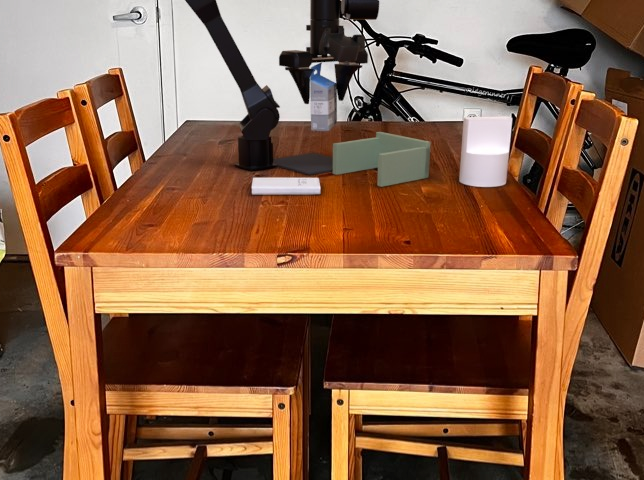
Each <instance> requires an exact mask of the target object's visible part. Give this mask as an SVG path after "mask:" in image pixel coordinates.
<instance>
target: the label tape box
mask: <svg viewBox="0 0 644 480" xmlns="http://www.w3.org/2000/svg"><path fill="white" fill-rule="evenodd" d="M322 64H323V62H319V63H317V64H314V65H313V66H310V69H314V70H313V72H312V74H311V76H310V130H311V131H315V132H330V130H331V129H332V128H334V127H335V125H336V124H338V94H337V84H336V81H333V80H331V79H329V78H327V77H325V76H323V75H321V71H322ZM315 72H316V73H315Z"/></svg>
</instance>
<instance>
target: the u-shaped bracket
mask: <svg viewBox="0 0 644 480" xmlns="http://www.w3.org/2000/svg"><path fill="white" fill-rule="evenodd" d="M431 144H432V143H431V141H430V140H429V141H428V140H423V139H418V138H413V137H409V136H404V135H398V134H394V133H388V132H384V131H376V132H375V137H369V138H368V137H367V138H361V139H356V140H349V141H341V142H334V143H332V157H333V171H332V175H335V176H338V175H343V174H349V173H356V172H360V171H366V170H372V169H377V179H376V182H377V183H376V184H377V187H380V188H383V187H389V186H394V185H398V184H403V183H409V182H414V181H418V180H423V179H428V178H429V177H430V176H429V175H430V161H431V160H430V159H431Z"/></svg>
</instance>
